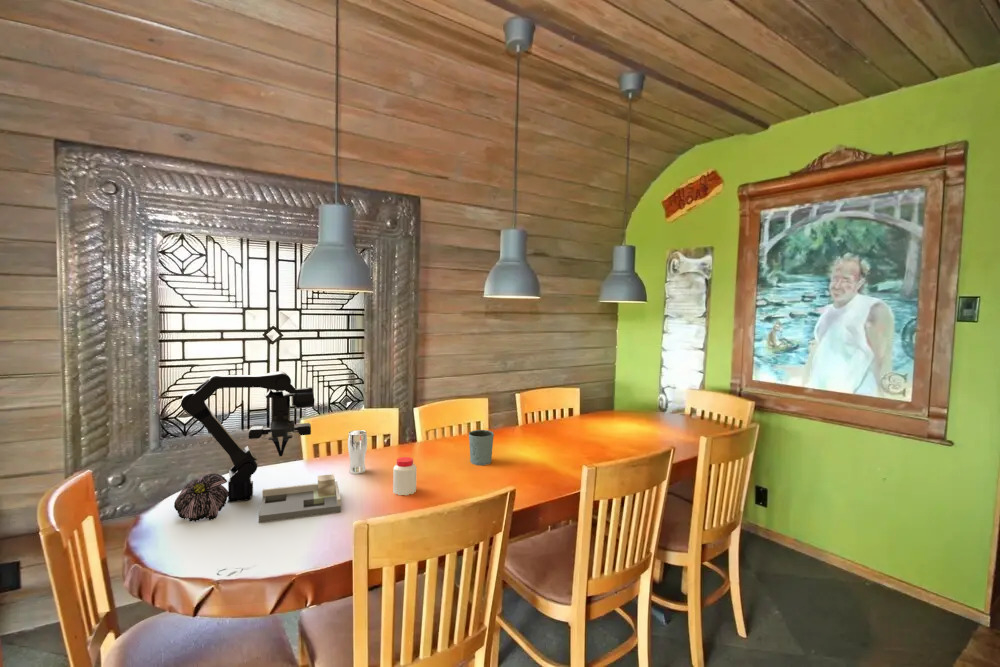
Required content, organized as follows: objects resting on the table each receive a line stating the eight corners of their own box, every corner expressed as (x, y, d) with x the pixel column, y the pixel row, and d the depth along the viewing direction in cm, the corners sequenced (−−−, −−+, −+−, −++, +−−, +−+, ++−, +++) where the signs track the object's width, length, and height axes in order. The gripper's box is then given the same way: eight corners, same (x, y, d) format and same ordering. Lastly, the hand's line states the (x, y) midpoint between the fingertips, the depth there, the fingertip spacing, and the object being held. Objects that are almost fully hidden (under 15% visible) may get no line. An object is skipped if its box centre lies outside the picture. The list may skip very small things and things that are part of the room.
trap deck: (258, 522, 142) (258, 509, 142) (262, 501, 157) (262, 489, 157) (340, 512, 150) (340, 499, 150) (337, 492, 165) (337, 481, 165)
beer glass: (347, 475, 182) (347, 435, 181) (348, 468, 189) (348, 430, 188) (366, 473, 184) (367, 434, 183) (366, 467, 191) (367, 429, 190)
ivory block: (318, 496, 157) (318, 481, 157) (317, 490, 161) (317, 475, 161) (334, 494, 159) (334, 479, 158) (333, 489, 163) (333, 474, 163)
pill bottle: (413, 485, 173) (414, 455, 172) (418, 494, 166) (418, 461, 165) (391, 488, 170) (391, 457, 170) (394, 496, 163) (395, 464, 162)
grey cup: (494, 458, 205) (495, 430, 204) (491, 466, 195) (492, 437, 194) (470, 457, 206) (470, 429, 205) (466, 465, 196) (466, 435, 195)
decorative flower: (159, 491, 139) (198, 460, 153) (159, 522, 143) (197, 489, 157) (206, 507, 138) (241, 475, 152) (205, 538, 142) (239, 504, 156)
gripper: (246, 417, 153) (247, 466, 154) (311, 413, 160) (311, 460, 161) (250, 409, 163) (250, 455, 164) (310, 406, 170) (310, 451, 171)
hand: (280, 456), depth 165 cm, fingers closed
